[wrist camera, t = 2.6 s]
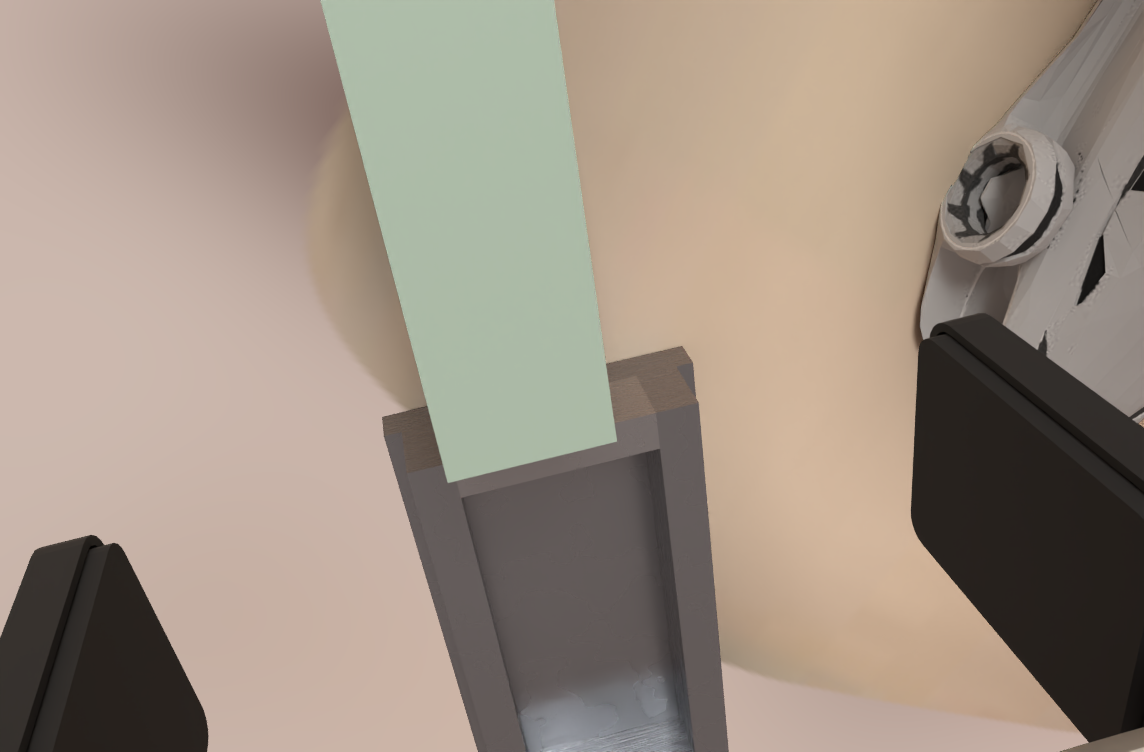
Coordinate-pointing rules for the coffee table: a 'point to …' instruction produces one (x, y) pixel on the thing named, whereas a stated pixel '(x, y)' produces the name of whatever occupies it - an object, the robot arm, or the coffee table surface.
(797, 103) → the coffee table surface
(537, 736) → the grey rectangular tray
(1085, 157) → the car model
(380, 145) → the light green rectangular block
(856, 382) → the coffee table surface
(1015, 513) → the robot arm
